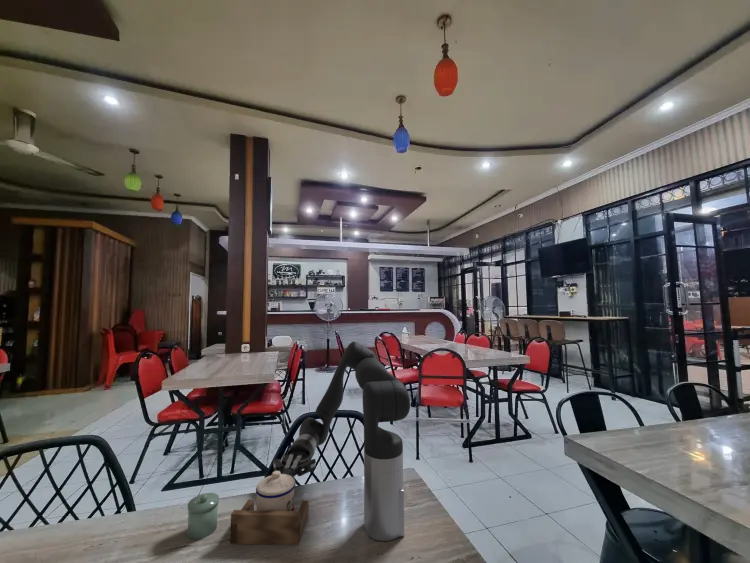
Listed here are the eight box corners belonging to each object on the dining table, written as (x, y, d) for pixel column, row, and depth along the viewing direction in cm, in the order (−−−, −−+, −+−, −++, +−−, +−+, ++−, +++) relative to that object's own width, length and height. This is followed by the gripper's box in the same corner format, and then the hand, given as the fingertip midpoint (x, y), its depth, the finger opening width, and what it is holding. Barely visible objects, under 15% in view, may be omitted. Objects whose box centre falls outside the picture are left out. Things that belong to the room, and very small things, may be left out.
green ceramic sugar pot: (222, 520, 78) (223, 486, 78) (209, 540, 71) (211, 503, 72) (195, 520, 77) (197, 486, 78) (180, 540, 71) (182, 503, 71)
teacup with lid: (290, 536, 72) (290, 482, 73) (249, 537, 72) (250, 482, 73) (300, 504, 84) (301, 457, 85) (265, 504, 84) (266, 458, 85)
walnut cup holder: (308, 517, 78) (308, 491, 79) (298, 544, 70) (298, 515, 70) (247, 516, 79) (248, 491, 79) (230, 543, 70) (230, 514, 71)
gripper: (281, 438, 102) (260, 464, 85) (323, 438, 102) (310, 465, 84) (281, 463, 102) (259, 494, 84) (322, 463, 101) (309, 495, 84)
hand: (284, 480), depth 84 cm, fingers closed
